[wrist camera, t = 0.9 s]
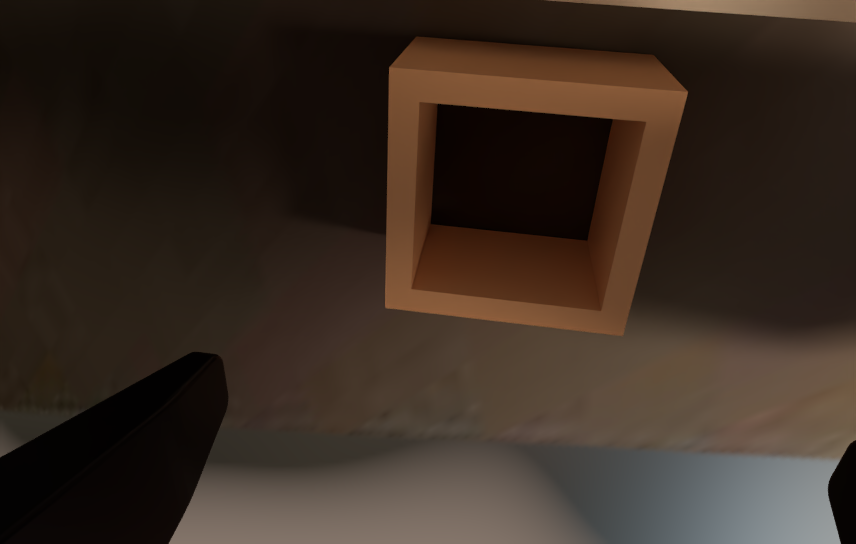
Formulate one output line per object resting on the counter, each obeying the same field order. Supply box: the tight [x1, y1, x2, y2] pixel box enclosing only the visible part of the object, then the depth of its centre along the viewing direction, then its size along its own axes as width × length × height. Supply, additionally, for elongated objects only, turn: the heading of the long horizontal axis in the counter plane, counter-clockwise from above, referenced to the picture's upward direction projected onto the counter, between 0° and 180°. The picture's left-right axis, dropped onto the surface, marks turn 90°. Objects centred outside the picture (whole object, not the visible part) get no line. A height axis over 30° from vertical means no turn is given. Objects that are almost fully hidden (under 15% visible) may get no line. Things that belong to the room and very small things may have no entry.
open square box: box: [385, 36, 688, 336], centre depth 16 cm, size 6×6×4 cm
